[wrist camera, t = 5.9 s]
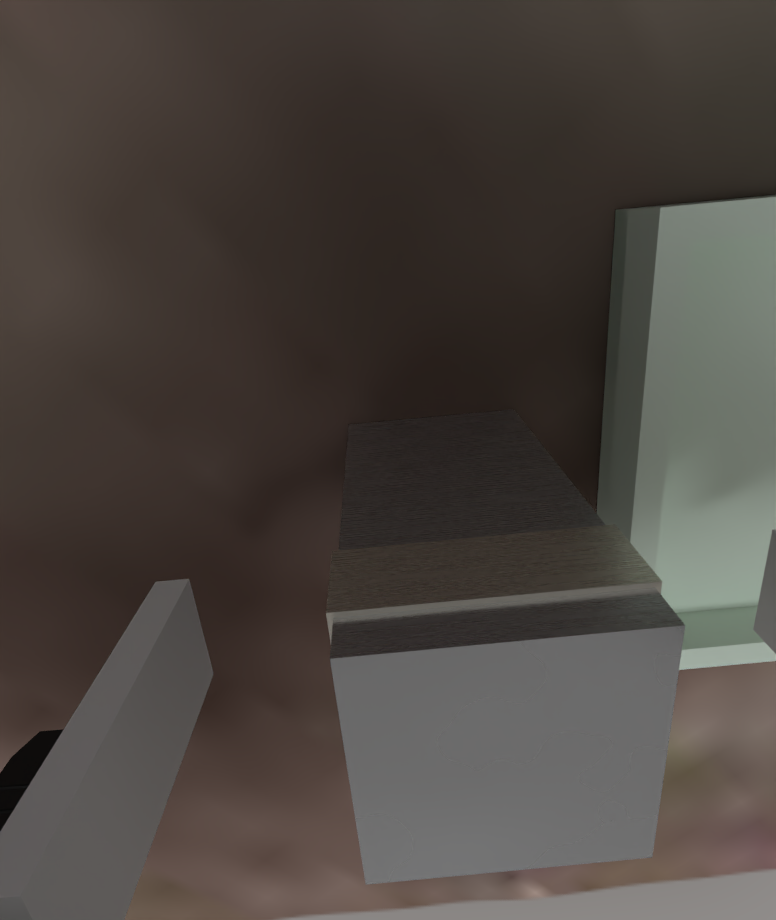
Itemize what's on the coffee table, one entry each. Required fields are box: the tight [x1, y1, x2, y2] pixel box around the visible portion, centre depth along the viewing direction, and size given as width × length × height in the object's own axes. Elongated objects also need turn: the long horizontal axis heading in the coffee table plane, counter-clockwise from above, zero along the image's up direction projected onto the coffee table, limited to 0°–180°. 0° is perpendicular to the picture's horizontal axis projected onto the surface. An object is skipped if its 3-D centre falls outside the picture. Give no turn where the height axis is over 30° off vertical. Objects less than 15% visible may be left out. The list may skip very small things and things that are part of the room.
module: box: [326, 409, 685, 884], centre depth 14 cm, size 5×5×10 cm
